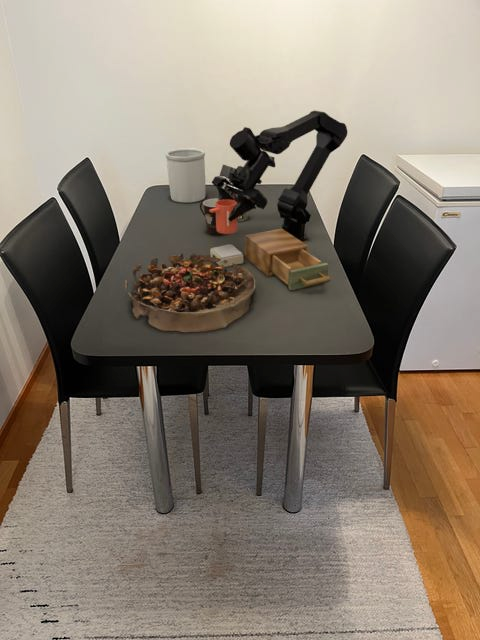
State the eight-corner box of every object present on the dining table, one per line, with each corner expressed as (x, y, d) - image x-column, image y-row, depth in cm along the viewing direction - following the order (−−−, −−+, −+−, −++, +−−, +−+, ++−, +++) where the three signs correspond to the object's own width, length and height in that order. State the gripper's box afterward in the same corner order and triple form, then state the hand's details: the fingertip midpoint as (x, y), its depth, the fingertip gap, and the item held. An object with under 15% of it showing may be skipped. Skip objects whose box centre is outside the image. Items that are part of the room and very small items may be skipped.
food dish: (141, 268, 145) (139, 243, 141) (255, 271, 145) (256, 246, 141) (110, 330, 115) (106, 299, 111) (254, 334, 114) (256, 304, 110)
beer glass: (246, 222, 174) (247, 179, 167) (227, 221, 176) (226, 178, 168) (250, 215, 180) (250, 173, 172) (231, 214, 181) (231, 172, 174)
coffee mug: (233, 235, 165) (233, 205, 159) (208, 238, 162) (207, 208, 157) (222, 223, 174) (221, 194, 169) (198, 226, 172) (197, 197, 166)
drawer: (335, 288, 131) (337, 270, 128) (299, 297, 127) (300, 278, 124) (300, 262, 145) (301, 245, 142) (266, 270, 140) (266, 252, 138)
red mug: (228, 224, 146) (228, 198, 142) (241, 230, 143) (241, 203, 138) (205, 231, 142) (204, 204, 138) (217, 237, 138) (216, 209, 134)
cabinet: (306, 267, 144) (307, 245, 140) (267, 276, 139) (268, 253, 135) (280, 249, 155) (281, 228, 151) (244, 256, 150) (244, 235, 146)
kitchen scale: (231, 253, 152) (231, 243, 151) (243, 263, 146) (243, 253, 145) (209, 257, 150) (209, 248, 148) (220, 267, 144) (220, 258, 142)
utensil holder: (164, 202, 193) (160, 156, 183) (174, 191, 205) (170, 146, 196) (202, 204, 191) (200, 157, 182) (209, 192, 203) (208, 148, 194)
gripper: (216, 146, 140) (185, 193, 140) (260, 159, 128) (226, 210, 128) (238, 170, 149) (209, 214, 149) (281, 184, 136) (250, 232, 136)
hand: (222, 217), depth 140 cm, fingers closed on red mug, 6 cm apart
